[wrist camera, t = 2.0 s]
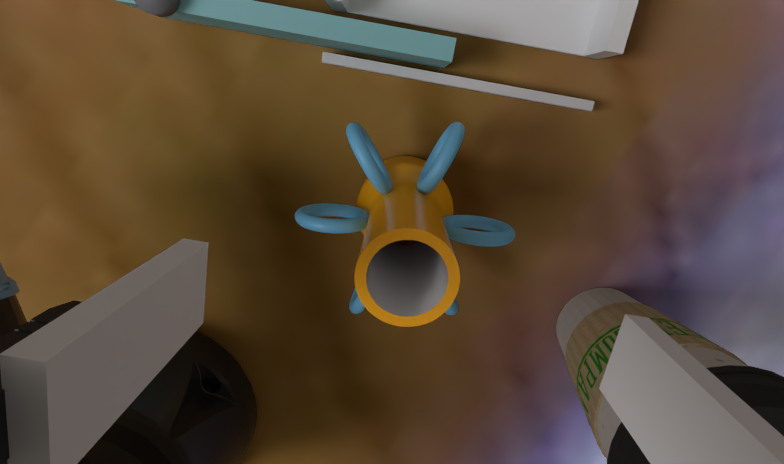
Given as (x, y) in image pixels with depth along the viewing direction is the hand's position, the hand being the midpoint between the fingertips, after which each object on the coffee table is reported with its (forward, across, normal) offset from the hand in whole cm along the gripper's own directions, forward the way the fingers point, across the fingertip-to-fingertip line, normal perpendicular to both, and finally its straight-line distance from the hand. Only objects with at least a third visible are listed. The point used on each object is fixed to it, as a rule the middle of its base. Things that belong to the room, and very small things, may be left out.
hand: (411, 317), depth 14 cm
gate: (+18, -8, +9) cm, 22 cm away
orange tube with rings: (+18, 0, 0) cm, 18 cm away
